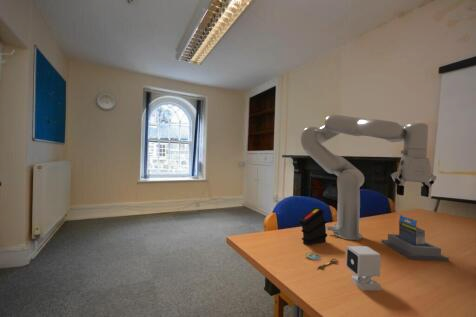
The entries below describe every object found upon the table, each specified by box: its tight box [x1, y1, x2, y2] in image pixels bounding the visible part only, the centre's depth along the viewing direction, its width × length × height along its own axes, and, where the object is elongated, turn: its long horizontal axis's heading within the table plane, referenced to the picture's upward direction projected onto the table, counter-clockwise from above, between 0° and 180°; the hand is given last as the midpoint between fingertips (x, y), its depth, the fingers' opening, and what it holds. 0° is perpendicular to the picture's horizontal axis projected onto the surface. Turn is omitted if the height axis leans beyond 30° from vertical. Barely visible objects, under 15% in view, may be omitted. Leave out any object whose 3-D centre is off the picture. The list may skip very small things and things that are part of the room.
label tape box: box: [398, 215, 426, 246], centre depth 90 cm, size 9×4×12 cm, turn 3°
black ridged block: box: [298, 206, 328, 247], centre depth 95 cm, size 4×13×15 cm, turn 118°
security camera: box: [345, 245, 382, 292], centre depth 63 cm, size 6×7×10 cm
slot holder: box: [381, 233, 450, 262], centre depth 90 cm, size 14×17×4 cm
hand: (412, 195), depth 90 cm, fingers open, 9 cm apart
